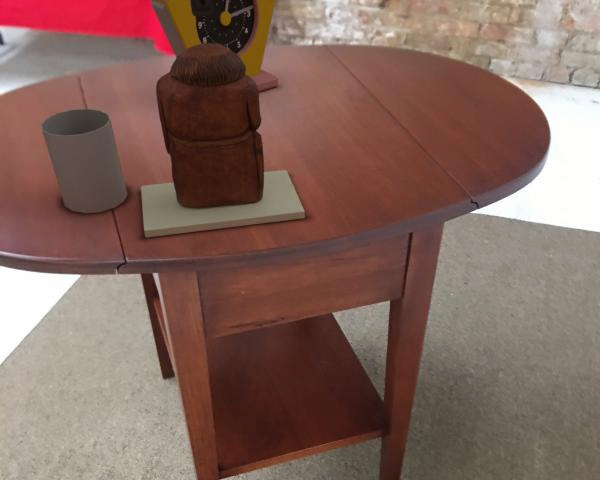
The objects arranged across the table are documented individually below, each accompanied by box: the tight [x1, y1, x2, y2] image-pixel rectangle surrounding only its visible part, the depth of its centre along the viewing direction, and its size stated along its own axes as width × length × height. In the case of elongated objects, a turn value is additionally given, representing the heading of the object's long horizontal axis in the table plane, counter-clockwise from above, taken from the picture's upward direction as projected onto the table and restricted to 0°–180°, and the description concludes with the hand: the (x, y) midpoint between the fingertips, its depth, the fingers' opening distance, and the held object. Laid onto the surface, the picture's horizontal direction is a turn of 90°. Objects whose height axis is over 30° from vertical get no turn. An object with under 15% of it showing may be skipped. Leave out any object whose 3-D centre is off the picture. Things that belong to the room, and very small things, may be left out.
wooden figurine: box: [155, 43, 265, 208], centre depth 76 cm, size 12×6×18 cm, turn 99°
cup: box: [40, 108, 128, 214], centre depth 81 cm, size 8×8×10 cm
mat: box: [140, 169, 306, 238], centre depth 83 cm, size 20×12×1 cm, turn 102°
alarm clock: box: [150, 0, 279, 92], centre depth 105 cm, size 22×9×22 cm, turn 128°
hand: (198, 4), depth 67 cm, fingers open, 8 cm apart
